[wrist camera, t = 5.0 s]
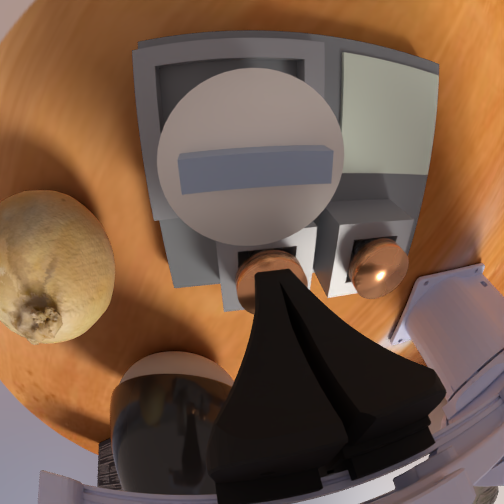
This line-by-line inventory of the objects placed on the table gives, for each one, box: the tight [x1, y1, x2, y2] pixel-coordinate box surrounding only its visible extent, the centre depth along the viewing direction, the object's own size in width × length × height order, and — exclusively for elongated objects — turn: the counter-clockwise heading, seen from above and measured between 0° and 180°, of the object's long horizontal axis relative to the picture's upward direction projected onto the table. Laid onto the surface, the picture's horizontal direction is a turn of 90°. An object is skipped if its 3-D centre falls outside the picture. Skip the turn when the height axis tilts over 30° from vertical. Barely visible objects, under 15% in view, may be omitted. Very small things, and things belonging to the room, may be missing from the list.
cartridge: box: [157, 68, 344, 246], centre depth 8 cm, size 4×4×6 cm
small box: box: [98, 438, 123, 491], centre depth 27 cm, size 11×6×10 cm, turn 134°
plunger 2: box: [349, 238, 409, 299], centre depth 13 cm, size 3×3×3 cm
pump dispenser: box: [110, 351, 234, 495], centre depth 15 cm, size 10×10×15 cm
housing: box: [132, 30, 439, 312], centre depth 12 cm, size 14×12×4 cm
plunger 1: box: [235, 248, 308, 314], centre depth 12 cm, size 3×3×3 cm
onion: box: [0, 190, 115, 345], centre depth 11 cm, size 8×8×7 cm
